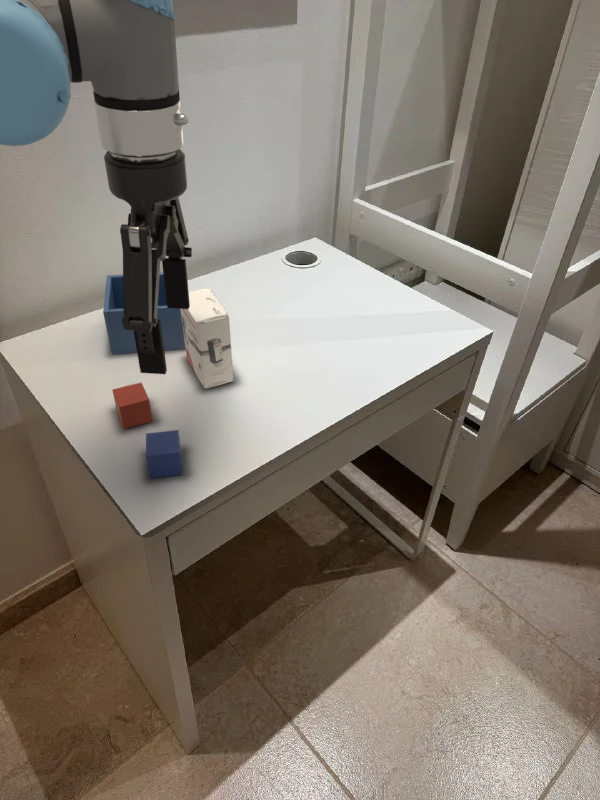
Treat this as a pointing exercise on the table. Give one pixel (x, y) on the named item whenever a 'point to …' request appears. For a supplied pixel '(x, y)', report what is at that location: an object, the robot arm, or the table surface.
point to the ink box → (208, 338)
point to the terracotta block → (132, 405)
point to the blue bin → (125, 339)
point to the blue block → (163, 454)
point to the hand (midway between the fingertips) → (167, 337)
